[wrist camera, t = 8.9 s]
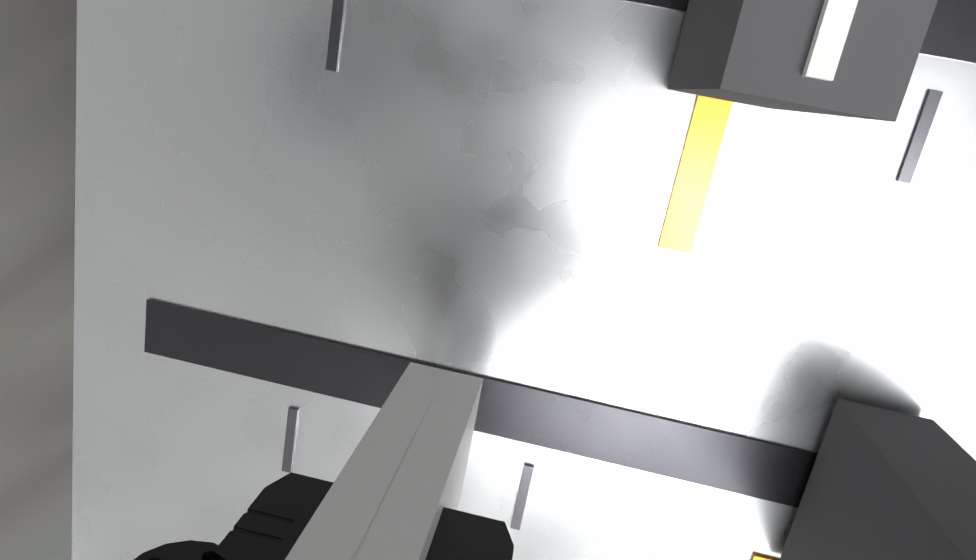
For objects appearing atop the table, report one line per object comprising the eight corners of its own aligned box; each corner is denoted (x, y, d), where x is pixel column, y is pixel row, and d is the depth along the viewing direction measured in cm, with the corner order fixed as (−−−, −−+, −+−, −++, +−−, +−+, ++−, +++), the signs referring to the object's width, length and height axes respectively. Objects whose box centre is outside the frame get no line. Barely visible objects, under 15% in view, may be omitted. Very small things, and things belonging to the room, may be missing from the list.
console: (143, -307, 15) (76, -366, 13) (1308, -133, 13) (1438, -174, 11) (117, 526, 22) (68, 570, 20) (904, 733, 20) (940, 807, 18)
